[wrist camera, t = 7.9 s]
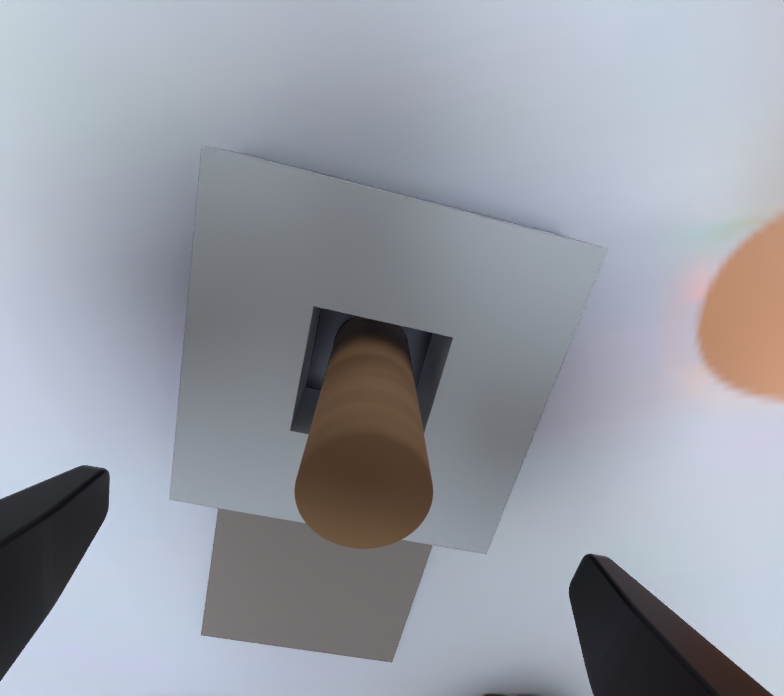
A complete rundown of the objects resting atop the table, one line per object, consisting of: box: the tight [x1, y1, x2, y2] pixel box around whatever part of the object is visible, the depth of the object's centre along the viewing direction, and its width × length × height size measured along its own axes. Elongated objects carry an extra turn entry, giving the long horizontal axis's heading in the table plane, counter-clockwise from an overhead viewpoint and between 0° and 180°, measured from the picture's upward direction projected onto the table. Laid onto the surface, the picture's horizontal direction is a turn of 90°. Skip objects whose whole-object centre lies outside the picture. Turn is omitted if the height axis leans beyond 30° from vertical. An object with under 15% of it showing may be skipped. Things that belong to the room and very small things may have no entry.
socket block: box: [169, 146, 608, 554], centre depth 17 cm, size 12×12×4 cm
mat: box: [201, 508, 432, 662], centre depth 21 cm, size 14×10×1 cm
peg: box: [294, 316, 433, 549], centre depth 14 cm, size 3×3×9 cm
